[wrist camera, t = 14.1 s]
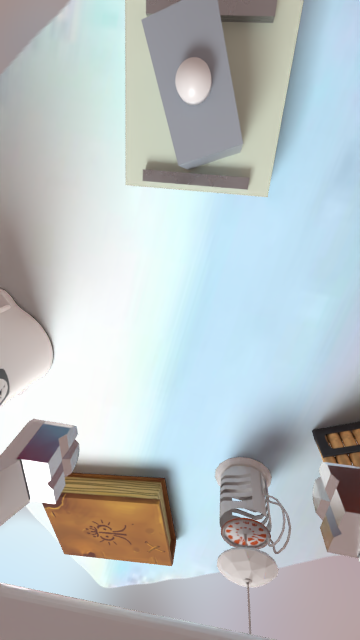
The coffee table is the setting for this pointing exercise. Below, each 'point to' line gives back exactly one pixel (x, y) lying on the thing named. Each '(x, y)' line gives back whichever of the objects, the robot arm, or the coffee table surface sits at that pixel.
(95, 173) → the coffee table surface
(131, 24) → the stand
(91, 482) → the diary
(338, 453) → the ammunition clip
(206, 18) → the block
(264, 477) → the french press
